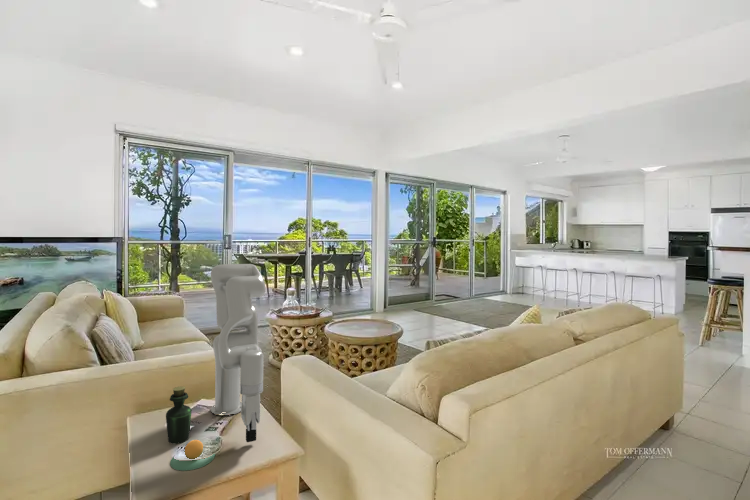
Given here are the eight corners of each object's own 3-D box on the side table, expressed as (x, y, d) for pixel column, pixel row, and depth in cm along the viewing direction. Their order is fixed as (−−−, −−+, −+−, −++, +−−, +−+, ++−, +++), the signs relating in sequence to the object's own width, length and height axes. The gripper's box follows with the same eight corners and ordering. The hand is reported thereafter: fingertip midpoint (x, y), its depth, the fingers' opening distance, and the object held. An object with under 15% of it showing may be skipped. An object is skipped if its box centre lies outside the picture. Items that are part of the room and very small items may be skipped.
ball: (195, 454, 128) (180, 449, 126) (206, 439, 129) (191, 434, 127) (197, 465, 124) (181, 459, 121) (207, 449, 125) (192, 443, 122)
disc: (170, 453, 128) (170, 452, 128) (213, 444, 134) (213, 443, 134) (169, 474, 116) (169, 474, 116) (216, 464, 122) (216, 463, 122)
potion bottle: (196, 438, 138) (196, 387, 137) (173, 448, 131) (174, 394, 130) (183, 431, 142) (183, 382, 142) (160, 440, 135) (161, 389, 135)
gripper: (237, 381, 138) (236, 432, 139) (243, 397, 125) (242, 453, 125) (258, 378, 142) (258, 428, 142) (267, 393, 128) (266, 448, 129)
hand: (251, 440), depth 134 cm, fingers closed
